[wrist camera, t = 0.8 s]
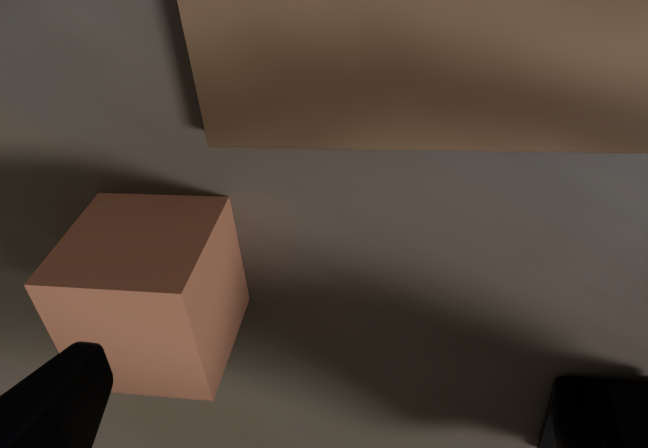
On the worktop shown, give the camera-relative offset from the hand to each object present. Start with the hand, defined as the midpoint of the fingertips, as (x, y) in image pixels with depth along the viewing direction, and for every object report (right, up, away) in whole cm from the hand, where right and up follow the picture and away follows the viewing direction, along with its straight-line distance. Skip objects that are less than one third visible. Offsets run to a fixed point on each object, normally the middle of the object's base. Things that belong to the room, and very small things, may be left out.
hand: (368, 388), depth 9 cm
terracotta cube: (-8, +2, +18) cm, 19 cm away
